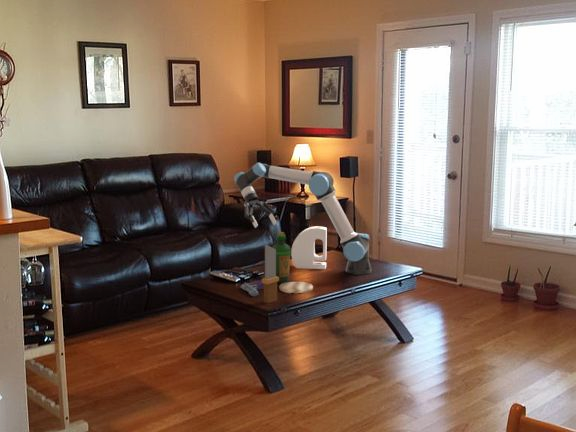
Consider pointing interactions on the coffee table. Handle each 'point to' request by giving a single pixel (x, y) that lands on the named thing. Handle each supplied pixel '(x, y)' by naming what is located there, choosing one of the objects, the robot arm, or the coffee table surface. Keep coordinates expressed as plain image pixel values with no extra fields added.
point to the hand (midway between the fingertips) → (266, 225)
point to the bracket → (309, 248)
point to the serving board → (296, 287)
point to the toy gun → (253, 287)
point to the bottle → (282, 258)
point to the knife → (270, 275)
